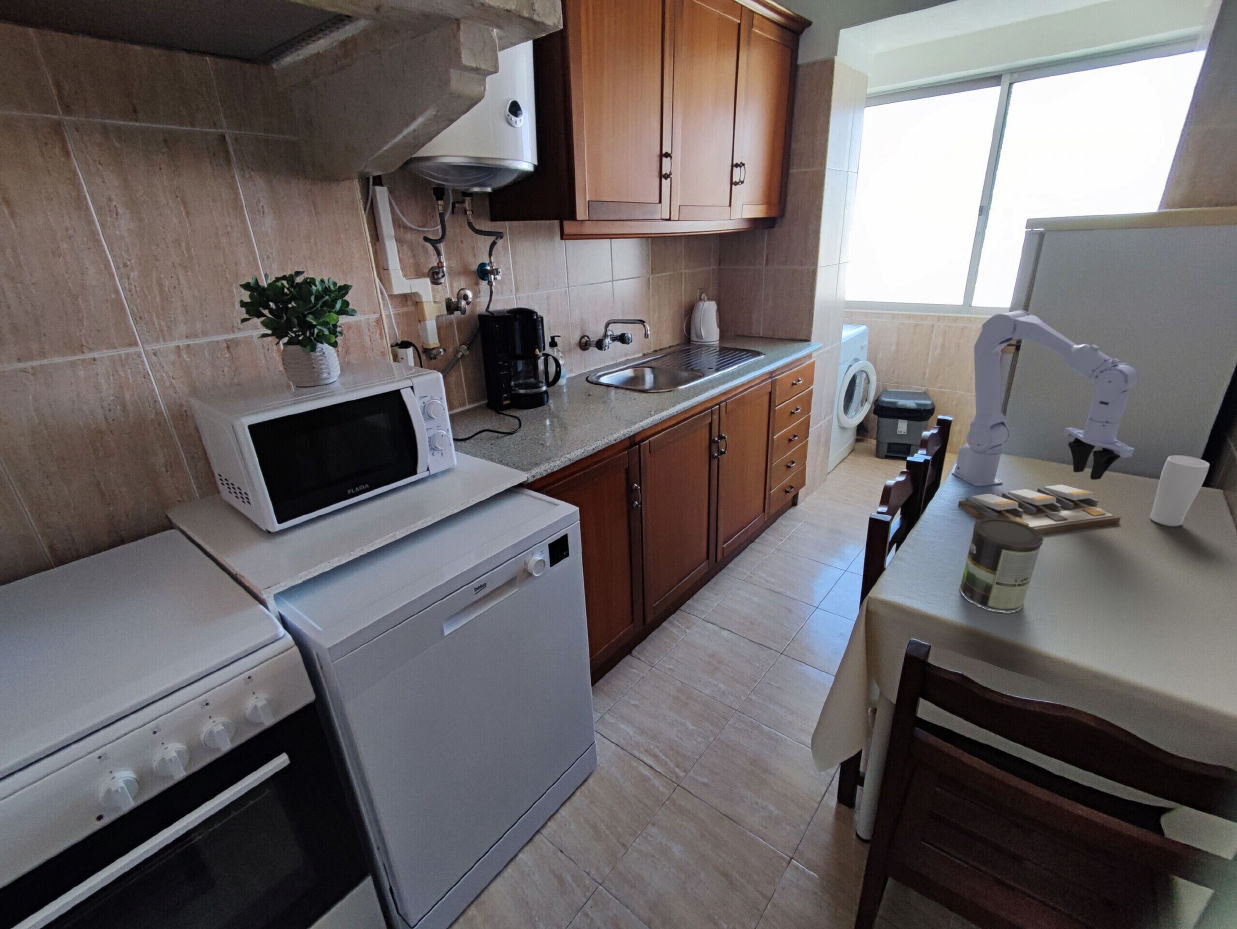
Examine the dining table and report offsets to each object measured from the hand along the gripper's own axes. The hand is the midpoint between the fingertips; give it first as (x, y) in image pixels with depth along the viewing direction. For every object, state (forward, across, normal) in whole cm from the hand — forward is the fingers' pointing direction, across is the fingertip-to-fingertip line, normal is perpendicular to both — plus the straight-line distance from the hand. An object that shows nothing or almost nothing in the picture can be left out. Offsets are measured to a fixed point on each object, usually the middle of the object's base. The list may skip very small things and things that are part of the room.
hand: (1086, 475), depth 129 cm
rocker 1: (+6, +3, +20) cm, 21 cm away
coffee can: (+10, -24, +44) cm, 51 cm away
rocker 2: (+6, +3, 0) cm, 7 cm away
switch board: (+9, +1, +10) cm, 14 cm away
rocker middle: (+6, +3, +10) cm, 12 cm away
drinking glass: (+10, -9, -14) cm, 19 cm away
